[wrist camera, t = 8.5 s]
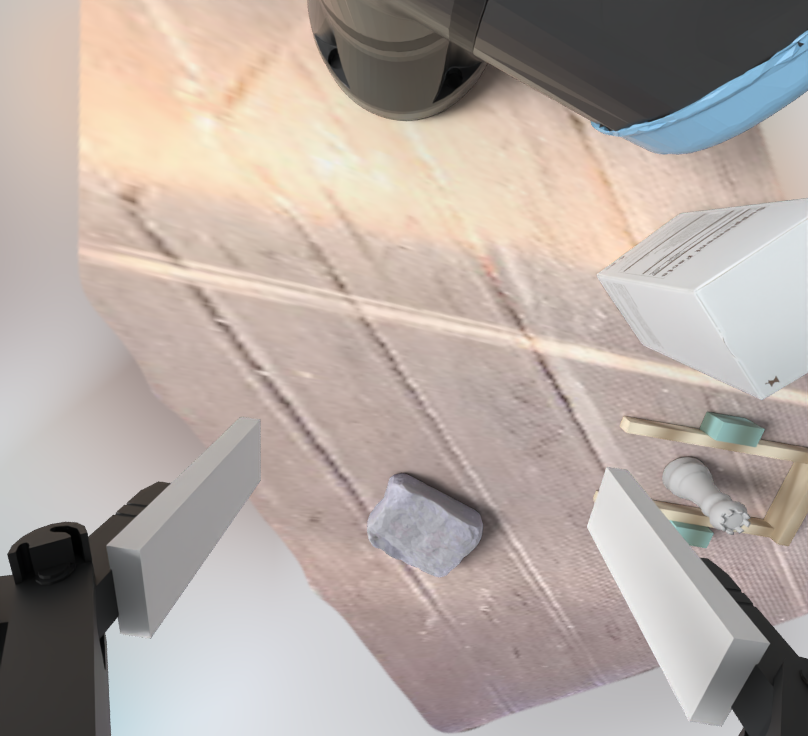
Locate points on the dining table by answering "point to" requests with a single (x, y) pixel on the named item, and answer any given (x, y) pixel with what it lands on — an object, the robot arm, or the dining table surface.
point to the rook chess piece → (705, 494)
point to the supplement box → (723, 293)
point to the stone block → (423, 526)
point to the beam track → (803, 483)
